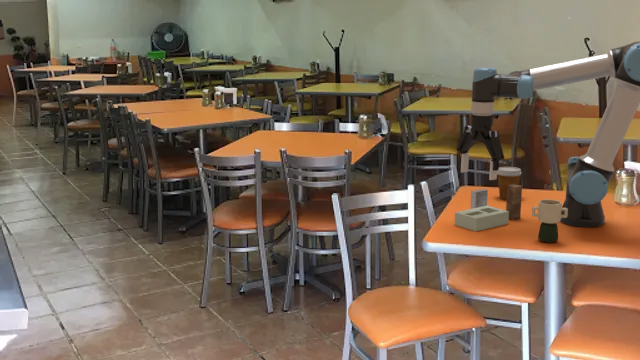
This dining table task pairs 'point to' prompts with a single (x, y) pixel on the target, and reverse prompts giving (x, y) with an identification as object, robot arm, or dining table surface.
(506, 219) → the socket block
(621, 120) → the robot arm
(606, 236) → the dining table surface
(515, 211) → the walnut peg
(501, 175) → the disposable coffee cup
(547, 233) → the character mug
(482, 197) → the grey upright tile
